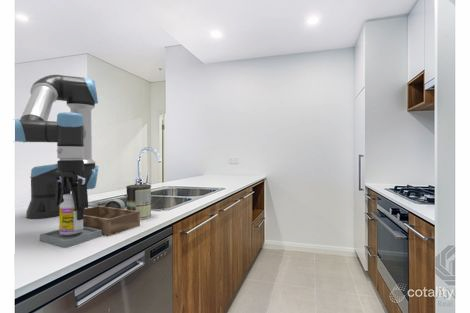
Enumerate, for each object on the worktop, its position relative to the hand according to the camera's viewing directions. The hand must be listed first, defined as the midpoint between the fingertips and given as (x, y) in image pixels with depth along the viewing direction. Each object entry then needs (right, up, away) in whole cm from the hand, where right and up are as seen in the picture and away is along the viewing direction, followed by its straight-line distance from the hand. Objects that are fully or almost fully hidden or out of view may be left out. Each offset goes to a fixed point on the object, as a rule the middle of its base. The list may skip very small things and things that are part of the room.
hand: (71, 227), depth 84 cm
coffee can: (+12, -3, +27) cm, 30 cm away
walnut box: (+3, -3, +14) cm, 15 cm away
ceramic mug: (-1, -3, +30) cm, 30 cm away
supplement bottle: (0, -2, 0) cm, 2 cm away
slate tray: (0, -3, 0) cm, 3 cm away
